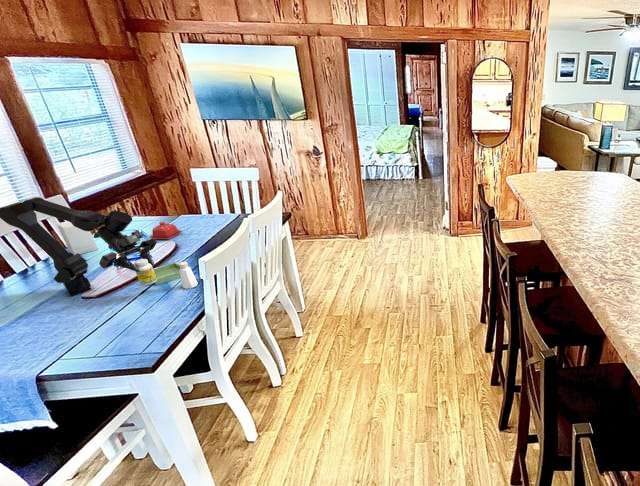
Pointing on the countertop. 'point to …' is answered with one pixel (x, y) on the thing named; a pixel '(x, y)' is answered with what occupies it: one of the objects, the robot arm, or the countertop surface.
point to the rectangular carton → (76, 238)
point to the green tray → (167, 273)
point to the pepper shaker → (187, 276)
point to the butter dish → (165, 231)
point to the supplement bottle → (145, 272)
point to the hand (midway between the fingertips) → (146, 268)
